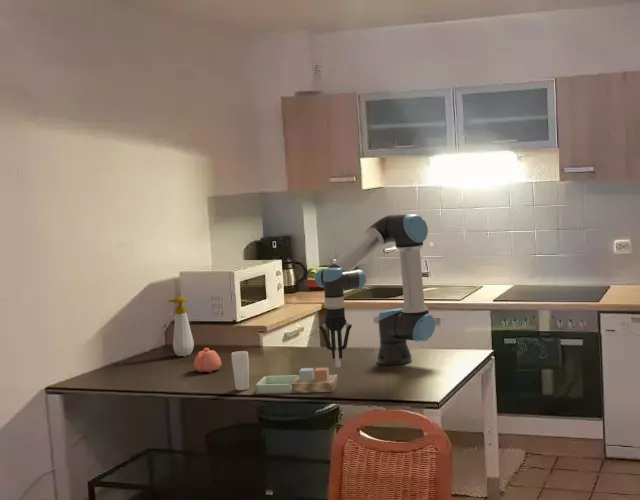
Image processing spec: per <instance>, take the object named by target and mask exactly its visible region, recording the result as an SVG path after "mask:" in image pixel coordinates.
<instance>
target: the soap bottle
mask: <svg viewBox="0 0 640 500" xmlns="http://www.w3.org/2000/svg"><path fill="white" fill-rule="evenodd" d="M186 301H187V299H186V298H185V297H183V296H177V297H175V298H173V299H168V302H169V303H174V304H176V303H178V306H176V308H175V315H174V327H173V340H172V349H173V351H174V353H175V355H176V356H177V357H179V356H184V357H187V355H188V356H190V355H191V354H192V352H193V350H194V346H195V342H194V338H193V334H192V330H191V327H190V321H189V317H188V314H187V312H186V307H185V306H182V303H186Z"/></svg>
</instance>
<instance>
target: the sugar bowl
mask: <svg viewBox="0 0 640 500" xmlns="http://www.w3.org/2000/svg"><path fill="white" fill-rule="evenodd" d="M194 358H195V359H194V362H193V368H194V369H195V370H196V371H197V372H198V373H204V372H207V373H210V374H211V373H213V372H214V371H218V370H220V368H221V366H222V360H221V358H220V356H219V354H218V352H216V350H213V349H212V350H211V349H210V348H209V347H205V348H203V350H201V351H198V353H197V355H196V356H195V357H194Z"/></svg>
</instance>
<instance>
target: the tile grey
mask: <svg viewBox="0 0 640 500" xmlns="http://www.w3.org/2000/svg"><path fill="white" fill-rule="evenodd" d="M314 370H315V367H304V368H303V367H302V368H300V369H299V370H298V376H299V377H300V381H312V380H313V379H314Z"/></svg>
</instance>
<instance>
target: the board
mask: <svg viewBox="0 0 640 500" xmlns="http://www.w3.org/2000/svg"><path fill="white" fill-rule="evenodd" d="M338 383H339V381H338V374H329V379H328V380H322V381H315V378H314V379H313V380H312V381H300V377H299V375H298V377H297V378H296V379H295V380H294V381H293V382H292V384H291V388H292V392H291V394H292V393H293V394H295V393H297V394H298V393H299V392H300V393H332V392H333V391H334V389H335V388H336V386H337V385H339V384H338Z"/></svg>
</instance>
